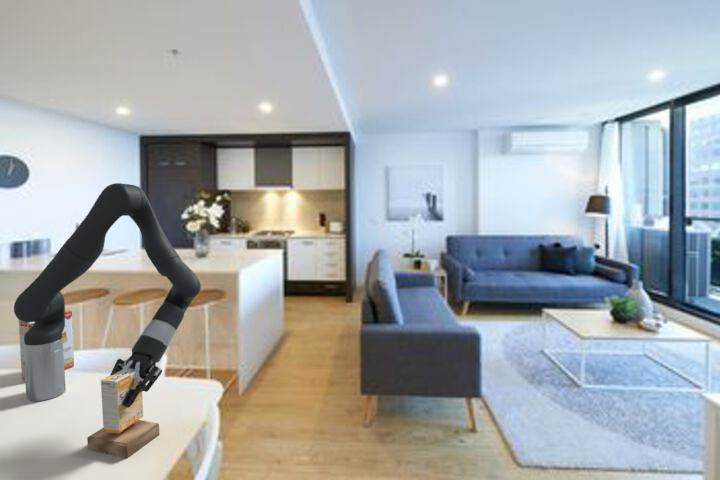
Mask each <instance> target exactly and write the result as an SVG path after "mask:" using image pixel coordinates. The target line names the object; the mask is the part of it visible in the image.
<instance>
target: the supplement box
mask: <svg viewBox="0 0 720 480" xmlns="http://www.w3.org/2000/svg"><path fill="white" fill-rule="evenodd" d="M135 373H136V371H135V369H127V370H121V371H118V372H116V373H114V374H113V375H111V374H110V375H111V376H110V375H108V376H106V377H105V378H102V379H101V380H100V387H101V388H100V389H101V390H100V391H101V408H102V409H101V411H102V426H103V427H102V428H103V429H104V431H105V432H111V433H118V434H119V433H121V432H122V431H123V430H124V429H126V428H127V427H129V426H130V425H131V424H133V423H134V422H136V421H137V420H141V419H142V418H143V417H144V405H143V403H144V402H143V399H144V398H143V397H144V396H143V391H142V392H141V393H139V394H138V396H137V397H136V399H135V401H134V403H133V404H132V405H131V406H130V407H129V408H128V407H125V406H123V405H122V402H123V401H124V399H125V397H126V396H127V394H128V392H129V391H130V390H132V385H133V377H134V375H135ZM138 385H139V384H138Z"/></svg>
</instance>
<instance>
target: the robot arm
mask: <svg viewBox="0 0 720 480" xmlns="http://www.w3.org/2000/svg"><path fill="white" fill-rule="evenodd" d="M124 216H125V217H126V216H128V217H129V218H131V220H132V221H133V222H134V224H136V226H137V227H138V229H139V231H140V235H141V236H142V237H141V238H142V241H143V247H144V250H145V253H146V255H147V257H148V259H149V260H150V261H151V263H152V265H153V266H154V268H155V269H156V270H157V272H158V273H159V275H161V276H162V277H166V278H167V280H168V281H169V282H170V283H171V285H172V286H171V288H170V289H169V291H168V293H167V294H166V296H165V298H164V301H163V302H162V304H161V305H160V306H159V307H158V309H157V311H155V314H154V316H152V319H151V320H150V321H149V323H148V324H147V325H146V327H145V328H144V329H143V331H142V332H141V334H140V335H139V338H137V340H136V342H135V344H134V345H133V347H132V348H131V356H129V357H128V358H127V359H121V358H118V359H117V360H116V362H115V364H114V366H113V368H112V371H111V372H110V375H109V376H111V375H113V374H114V373H116V372H118V371H121V370H127V369H135V371H136V373H135V375H134V377H133V385H132V390H130V391H129V392H128V394H127V396H126V397H125V399H124V401H123V402H122V405H123V406H125V407H128V408H129V407H130V406H131V405H132V404H133V403H134V401H135V399H136V397H137V396H138V394H139V393H141V392H142V393H143V392H146V393H147V392H149V391H150V389H151V388H152V386H153V385H154V383H156V381H157V380H158V379H159V377H160V376H161V374H162V373H163V370H162V368H160V367H158V366H157V365H156V364H157V363H159V362H160V361H161V360H162V358H163V356H164V354H165V353H166V350H167V349H168V347H169V346H170V344H171V342H172V340H173V338H174V337H175V334H176V332H177V329H178V328H179V326H180V324H181V323H182V321H183V319H184V317H185V313H186V311H187V309H188V308H189V307H190V305H191V303H192V302H193V300H194V299H195V298H196V297H197V296H198V295H199V293H200V291H201V289H202V285H201V282H200V280H199V278H198V276H197V274H195V272H194V271H193V270H192V269H191V268H190V267H189V266H188V265H187V264H186V263H185V262H184V261H182V259H181V257H180V256H179V254H178V253H177V251H176V249H175V248H174V247H173V246H172V243H171V242H170V241H169V239H168V237H167V236H166V233H165V232H164V230H163V229H162V226H161V224H160V222H159V221H158V218H157V216H156V214H155V211H154V210H153V207H152V205H151V203H150V201H149V198H148V196H147V194H146V193H145V191H144V190H143V189H142V188H141V187H140V186H137V185H135V184H129V183H121V182H120V183H119V182H116V183H112V184H109V185H107V186H106V187H104V189H102V191H101V192H100V194H99V195H98V197H97V198H96V199H95V201H94V203H93V204H92V207H91V208H90V210H89V212H88V213H87V215H86V216H85V218H84V219H83V220H82V221H81V222H80V224H79V225H78V226H77V228H76V229H75V230H74V232H73V233H72V234H71V235H70V237H68V238H67V240H66V241H65V242H64V243H63V245H62V246H61V247H60V248H59V250H58V251H57V252H56V254H55V255H54V256H53V258H52V259H51V260H50V261H49V263H48V264H47V265H46V267H45V268H44V269H43V270H42V271H41V273H40V274H39V275H38V276H37V277H36V278H35V279H34V280H33V282H31V283H30V285H28V286H27V287H26V288H25V289H24V290H23V291H22V292H21V293H20V294H19V295H18V297H17V298H16V300H15V302H14V305H13V312H14V315H15V318H17V319H18V321H19V320H21V321H24V322H34V324H33V326H32V327H31V328H30V329H29V330H28V331H27V332H26V333H25V335H24V345H25V358H26V366H25V367H24V371H25V379H24V380H25V381H24V384H25V393H26V394H25V395H26V397H27V399H28V400H29V401H32V402H40V401H46V400H50V399H55V398H58V397H59V396H61V395H63V394H65V392H66V390H67V389H66V371H65V370H66V369H64V353H63V338H62V332H63V330H64V327H65V310H66V303H65V298H64V295H63V293H62V292H61V291H62V290H63V289H64V288H66V287H67V286H69V285H70V284H71V283H73V282H75V281H76V280H77V279H79V278H80V277H81V276H82V275H84V274H85V273H87V271H88V270H89V269H90V268H91V267H92V266H93V264H94V263H96V262H97V260H98V259H99V258H100V257H101V254H102V253H103V251H104V248H105V243H106V236H107V233H108V232H109V231H110V229H111V227H112V226H113V225H115V223H116V222H117V221H118V220H119V219H120V218H121V217H124ZM138 384H139V385H138Z"/></svg>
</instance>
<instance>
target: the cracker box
mask: <svg viewBox="0 0 720 480" xmlns="http://www.w3.org/2000/svg"><path fill="white" fill-rule="evenodd" d="M33 324H34V322H24V321H21V320H19V319H18V332H19V333H18V334H19V349H20V350H19V351H20V367H21V369H20V370H21V379H23V380H25V371H24V367H25V366H26V358H25V345H24V335H25V333H26V332H27V331H28V330H29V329H30V328H31V327H32V326H33ZM62 338H63V353H64V369H65V370H69V369H70V368H74V367H75V355H74V331H73V311H72V310H70V309H65V327H64V330H63V332H62Z"/></svg>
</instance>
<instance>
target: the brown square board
mask: <svg viewBox="0 0 720 480" xmlns="http://www.w3.org/2000/svg"><path fill="white" fill-rule="evenodd" d="M158 436H160V423H157V422H153V421H146V420H141V419H139V420H137V421H136V422H134V423H133V424H131V425H130V426H129V427H127V428H126V429H124V430H123V431H122V432H121V433H119V434H118V433H111V432H105V431H104V429H103V427H102V428H99V430H97V431H95V432H94V433H92V434H91V435H89V436H87V437H86V438H87V439H86V441H87V449H88V451H89V450H90V451H94V452H98V451H99V452H100V453H103V452H105V453H104V454H107V453H109V455H112V454H113V455H112V456H117V457H122V458H125V457H126V459H129V458H130V457H131V456H133V455H134V454H135V453H137V452H138V451H140V450H141V449H143V448H144V447H145V446H146V445H148V444H149V443H150V442H152V441H153V440H154V439H155V438H157V437H158ZM99 452H98V453H99ZM128 457H129V458H128Z"/></svg>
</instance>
